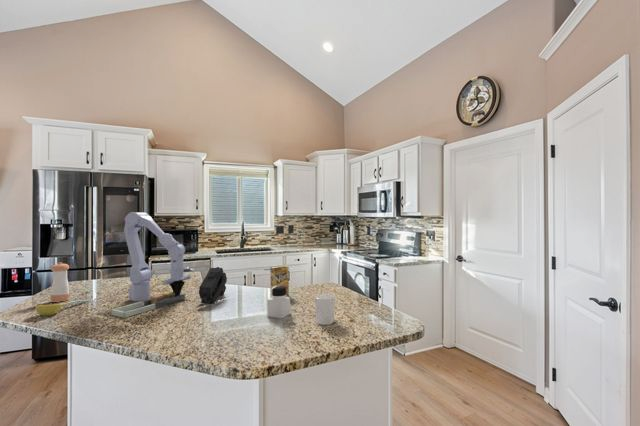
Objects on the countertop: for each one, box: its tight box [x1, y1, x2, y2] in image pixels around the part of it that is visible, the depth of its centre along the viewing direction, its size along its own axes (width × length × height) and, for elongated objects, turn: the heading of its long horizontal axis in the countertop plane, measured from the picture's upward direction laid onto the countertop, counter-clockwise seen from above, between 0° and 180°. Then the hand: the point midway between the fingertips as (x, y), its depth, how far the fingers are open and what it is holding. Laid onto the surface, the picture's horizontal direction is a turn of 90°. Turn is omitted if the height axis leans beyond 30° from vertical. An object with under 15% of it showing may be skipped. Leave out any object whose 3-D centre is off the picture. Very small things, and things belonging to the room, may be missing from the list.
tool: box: [198, 266, 228, 304], centre depth 150 cm, size 7×21×16 cm, turn 174°
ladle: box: [34, 299, 91, 317], centre depth 139 cm, size 9×26×6 cm, turn 179°
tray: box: [110, 301, 156, 319], centre depth 131 cm, size 9×13×3 cm
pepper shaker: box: [50, 262, 71, 303], centre depth 152 cm, size 7×7×19 cm
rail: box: [142, 293, 187, 309], centre depth 144 cm, size 10×16×4 cm, turn 154°
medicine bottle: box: [266, 286, 291, 320], centre depth 128 cm, size 7×7×12 cm
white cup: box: [314, 293, 336, 326], centre depth 119 cm, size 8×8×10 cm
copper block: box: [150, 294, 164, 305], centre depth 141 cm, size 4×4×4 cm
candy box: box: [269, 265, 290, 298], centre depth 159 cm, size 9×4×15 cm, turn 125°
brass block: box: [161, 291, 175, 299], centre depth 146 cm, size 4×4×4 cm
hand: (177, 296), depth 150 cm, fingers closed
